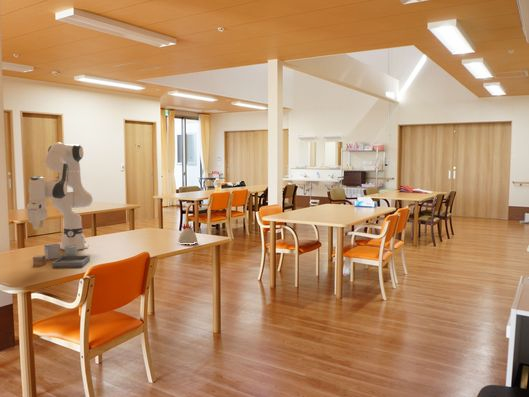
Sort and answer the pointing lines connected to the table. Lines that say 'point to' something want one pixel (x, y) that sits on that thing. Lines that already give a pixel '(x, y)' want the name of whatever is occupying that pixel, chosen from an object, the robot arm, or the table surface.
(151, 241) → the table surface
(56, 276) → the table surface
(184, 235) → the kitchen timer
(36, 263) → the walnut block
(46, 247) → the medicine box
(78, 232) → the robot arm
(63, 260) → the tray
